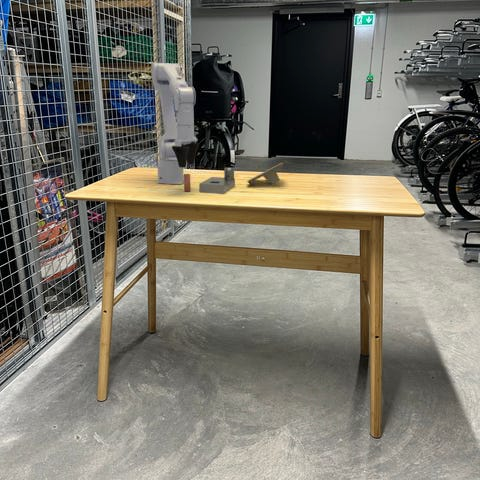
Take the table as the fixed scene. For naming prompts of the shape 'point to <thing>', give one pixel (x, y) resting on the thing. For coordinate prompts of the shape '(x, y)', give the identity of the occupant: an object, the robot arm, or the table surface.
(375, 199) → the table surface
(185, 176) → the cylindrical pin
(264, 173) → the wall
